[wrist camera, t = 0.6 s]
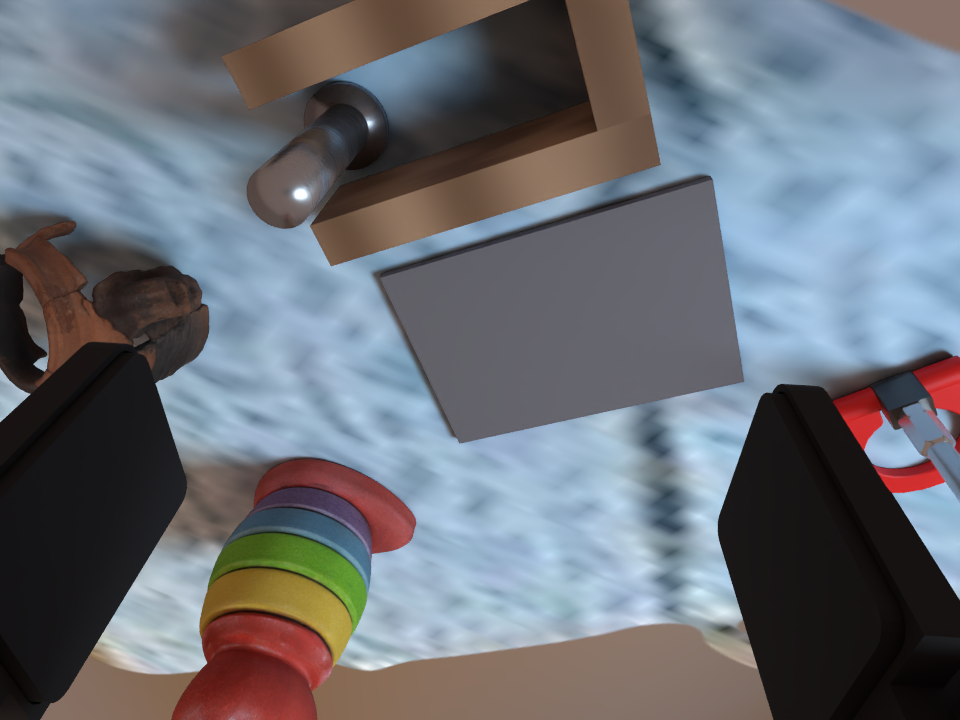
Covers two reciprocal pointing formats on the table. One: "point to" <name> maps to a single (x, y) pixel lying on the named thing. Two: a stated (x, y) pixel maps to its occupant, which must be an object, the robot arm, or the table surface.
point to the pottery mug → (95, 311)
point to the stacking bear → (290, 591)
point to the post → (319, 154)
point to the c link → (477, 164)
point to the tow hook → (912, 422)
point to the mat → (575, 315)
